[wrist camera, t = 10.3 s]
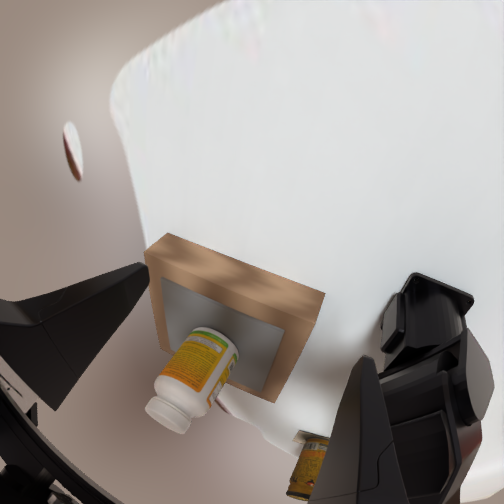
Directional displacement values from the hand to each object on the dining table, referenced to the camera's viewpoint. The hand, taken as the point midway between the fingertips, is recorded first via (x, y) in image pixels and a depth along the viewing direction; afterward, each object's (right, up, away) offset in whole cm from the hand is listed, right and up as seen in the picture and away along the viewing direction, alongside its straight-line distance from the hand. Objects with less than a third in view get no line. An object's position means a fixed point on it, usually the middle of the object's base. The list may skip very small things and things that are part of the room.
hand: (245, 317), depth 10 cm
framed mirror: (-2, -5, +20) cm, 21 cm away
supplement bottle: (-3, -7, +17) cm, 19 cm away
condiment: (+12, -31, +31) cm, 46 cm away
